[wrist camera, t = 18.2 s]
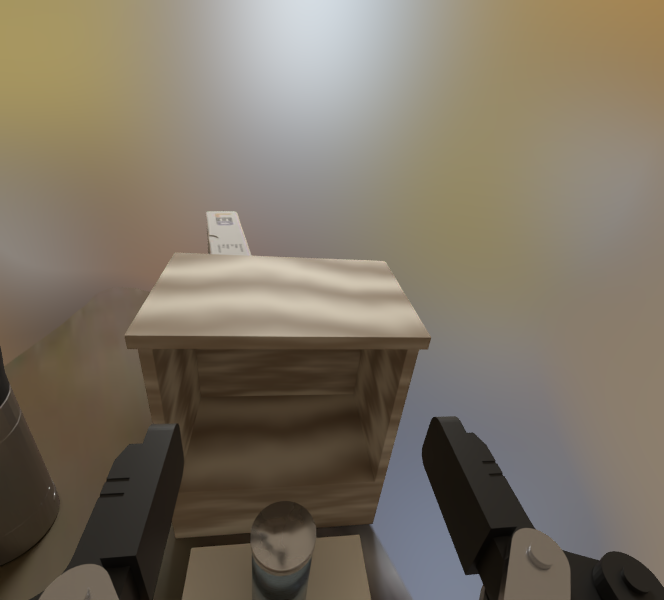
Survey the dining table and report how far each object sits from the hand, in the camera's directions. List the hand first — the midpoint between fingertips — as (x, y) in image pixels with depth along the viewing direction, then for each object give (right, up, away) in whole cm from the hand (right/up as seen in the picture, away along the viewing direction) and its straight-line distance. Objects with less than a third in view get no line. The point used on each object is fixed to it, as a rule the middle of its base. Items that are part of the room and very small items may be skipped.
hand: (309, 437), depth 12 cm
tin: (-4, -24, +24) cm, 34 cm away
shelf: (-6, -18, +36) cm, 41 cm away
